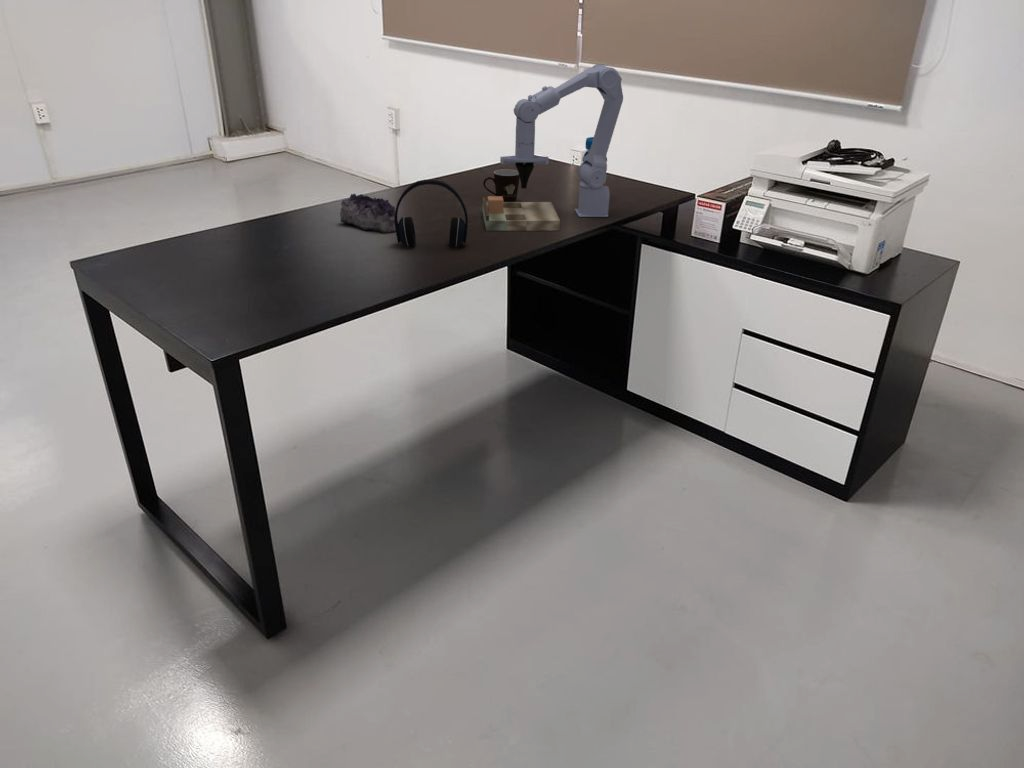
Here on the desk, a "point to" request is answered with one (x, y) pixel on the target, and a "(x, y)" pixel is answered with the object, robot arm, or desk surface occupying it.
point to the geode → (368, 213)
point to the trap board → (522, 217)
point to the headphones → (406, 226)
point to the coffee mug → (505, 184)
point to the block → (495, 204)
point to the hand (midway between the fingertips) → (523, 187)
